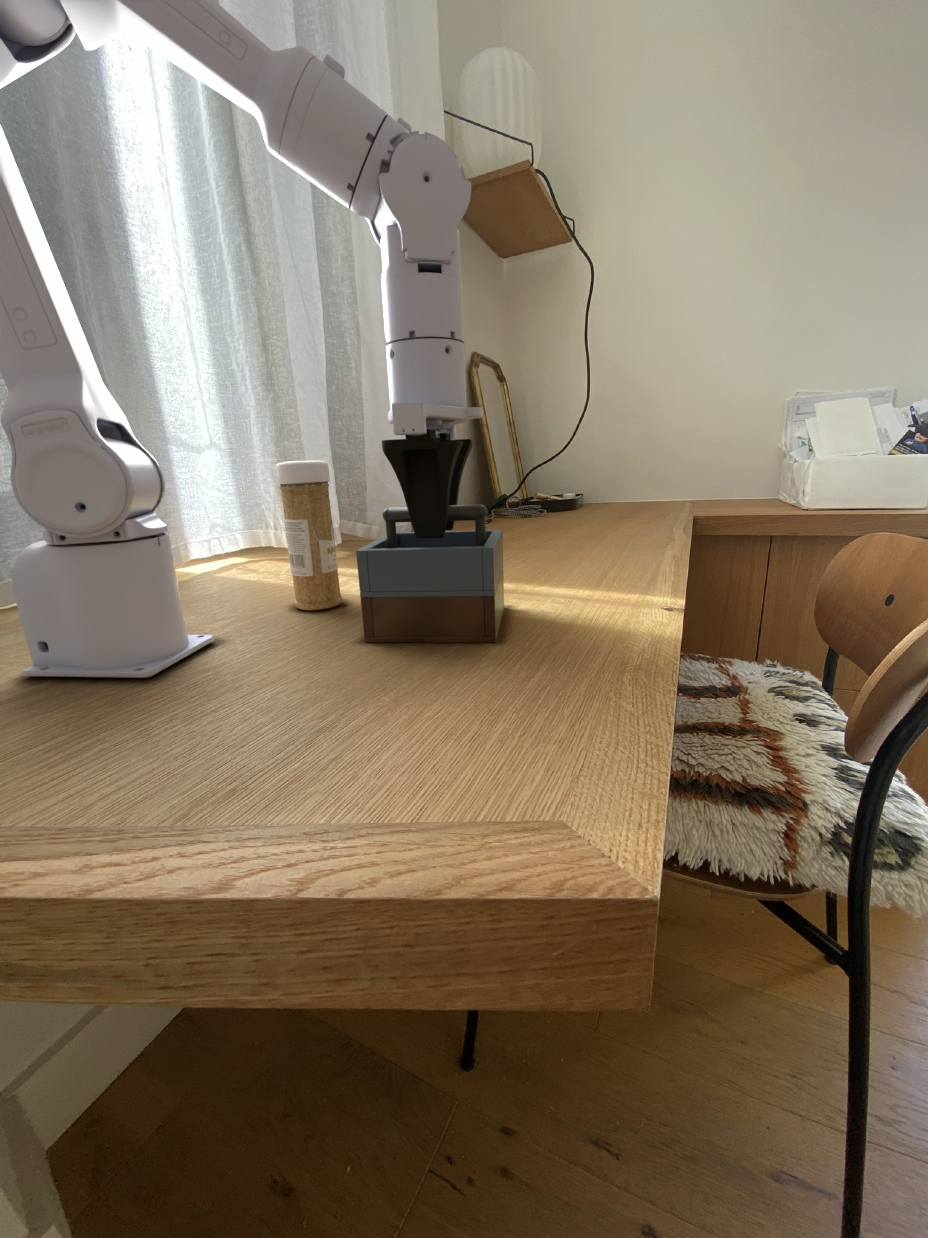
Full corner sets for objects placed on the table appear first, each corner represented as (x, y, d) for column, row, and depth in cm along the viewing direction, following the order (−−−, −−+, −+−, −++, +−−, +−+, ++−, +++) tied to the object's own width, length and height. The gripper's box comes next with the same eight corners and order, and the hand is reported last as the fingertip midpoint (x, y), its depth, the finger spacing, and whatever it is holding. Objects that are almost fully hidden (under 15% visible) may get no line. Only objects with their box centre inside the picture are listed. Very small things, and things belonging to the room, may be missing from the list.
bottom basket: (364, 642, 42) (360, 597, 41) (396, 607, 52) (393, 570, 51) (495, 642, 41) (494, 596, 40) (504, 607, 50) (503, 569, 49)
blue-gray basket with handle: (360, 597, 41) (352, 514, 40) (393, 570, 51) (388, 502, 49) (494, 596, 40) (492, 510, 38) (503, 569, 49) (501, 498, 48)
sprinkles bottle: (349, 605, 53) (335, 459, 49) (302, 614, 51) (283, 461, 47) (332, 597, 57) (317, 460, 53) (288, 604, 54) (269, 462, 51)
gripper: (467, 319, 33) (475, 547, 37) (488, 359, 47) (493, 521, 51) (352, 327, 34) (372, 549, 38) (406, 364, 48) (417, 523, 52)
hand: (435, 533), depth 44 cm, fingers open, 4 cm apart
